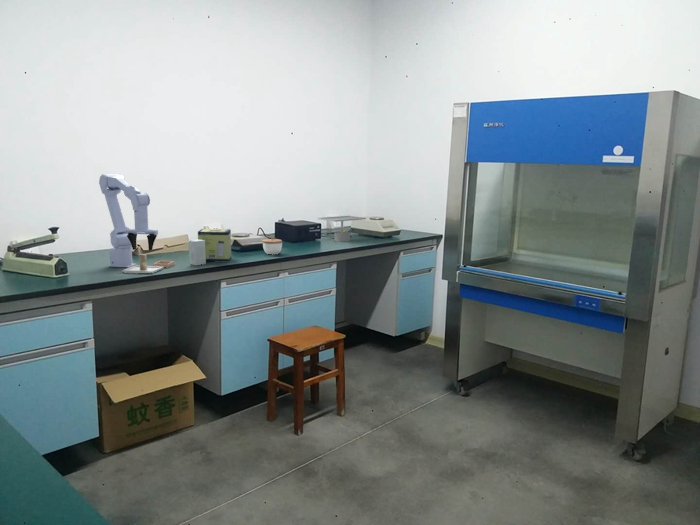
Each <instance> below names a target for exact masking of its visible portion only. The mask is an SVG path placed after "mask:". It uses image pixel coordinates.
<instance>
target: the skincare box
mask: <svg viewBox="0 0 700 525" xmlns="http://www.w3.org/2000/svg"><path fill="white" fill-rule="evenodd" d="M189 243H190V244H189V246H190V265H191V264H192V266H201V264H202V265H206V263H207V262H206V255H205V240H198V239H193V240H190V242H189Z"/></svg>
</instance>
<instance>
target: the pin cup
mask: <svg viewBox="0 0 700 525" xmlns="http://www.w3.org/2000/svg"><path fill="white" fill-rule="evenodd" d="M175 263H176V262H175V261H174V260H158V261H155V262H154V263H153V264H152V266H162V267H166V269H169V268H171V267H173V266H175Z"/></svg>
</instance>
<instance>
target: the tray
mask: <svg viewBox="0 0 700 525" xmlns="http://www.w3.org/2000/svg"><path fill="white" fill-rule="evenodd" d="M162 269H163V270H164V267H162V266H153V265H147V270H140V264H139V265H138V264H136V265H133V266H131V267H126V268H125V269H122V270H121V271H122V273H123V272H124V273H123V274H138V273H154V272H156V273H158V272H160V271H159V270H161V271H163V270H162ZM157 271H158V272H157ZM154 274H155V273H154Z"/></svg>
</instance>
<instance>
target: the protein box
mask: <svg viewBox="0 0 700 525" xmlns="http://www.w3.org/2000/svg"><path fill="white" fill-rule="evenodd" d="M231 234H232V232H231V229H230V228H227V229H226V228H225V229H224V228H223V229H222V228H220V229H218V228H217V229H214V228H213V229H212V228H210V229H209V228H200V230H198V231H197V240H205V255H206V263H210V261H211V263H216V262H215V261H229V260H230V261H231V259H232V236H231ZM230 261H229V262H230Z"/></svg>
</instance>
